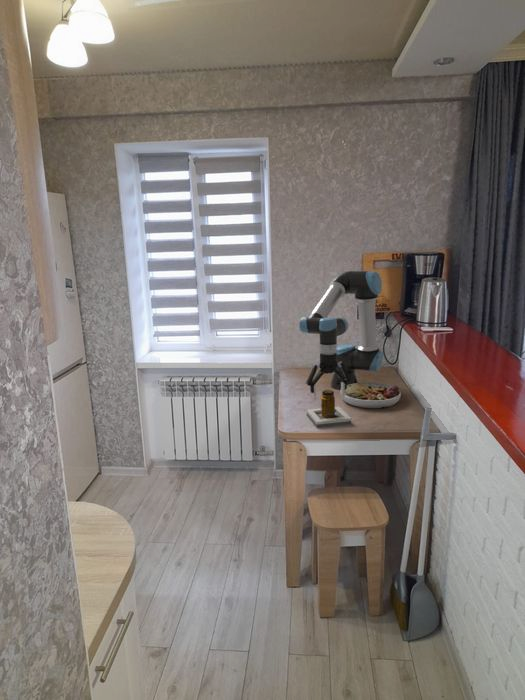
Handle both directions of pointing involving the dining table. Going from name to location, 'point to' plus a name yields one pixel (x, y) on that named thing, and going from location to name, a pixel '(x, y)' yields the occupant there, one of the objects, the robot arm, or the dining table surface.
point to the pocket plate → (321, 422)
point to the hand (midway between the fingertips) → (328, 398)
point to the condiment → (328, 405)
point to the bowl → (371, 395)
